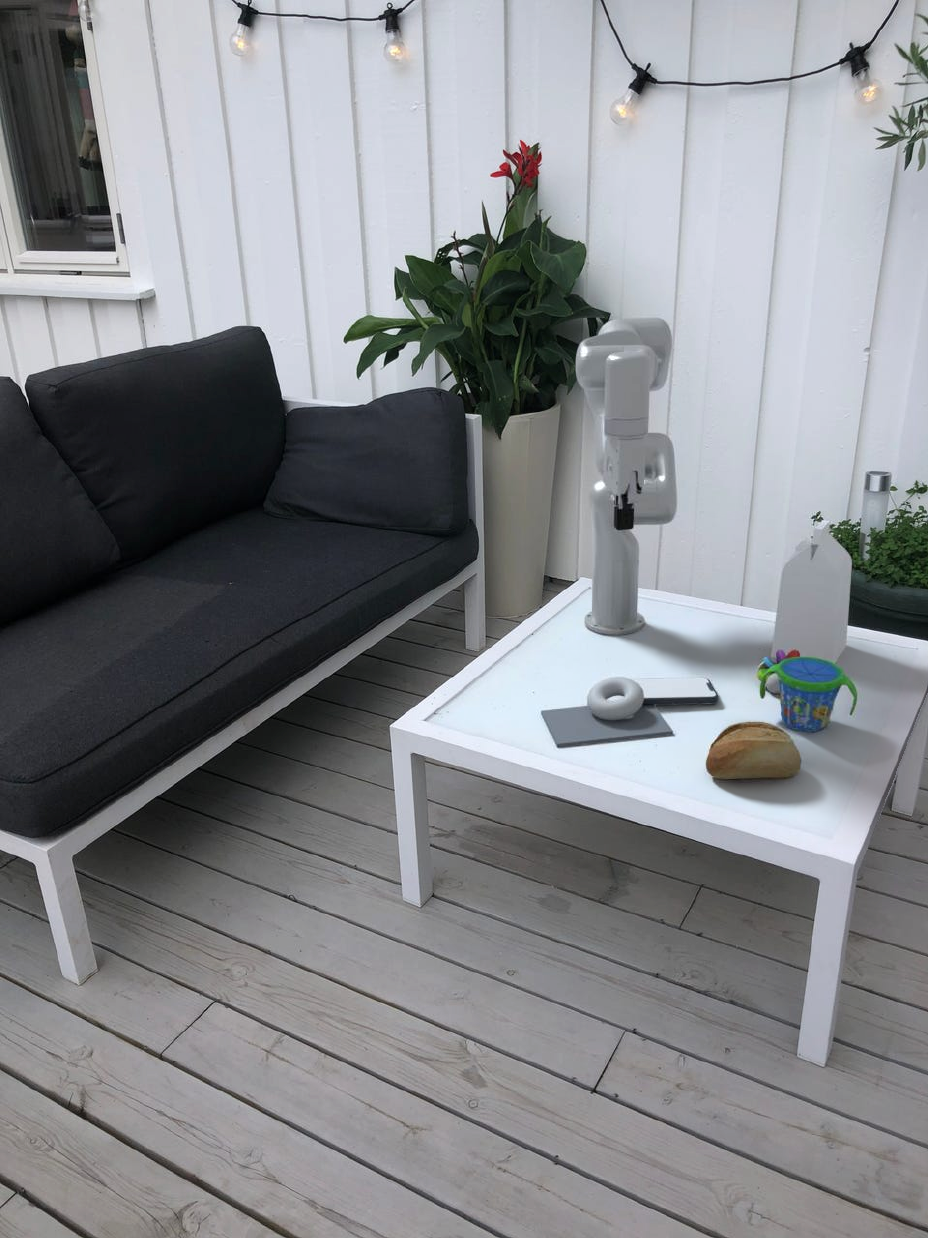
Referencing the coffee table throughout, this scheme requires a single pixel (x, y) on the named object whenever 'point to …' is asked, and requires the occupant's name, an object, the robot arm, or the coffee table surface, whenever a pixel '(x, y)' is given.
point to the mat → (602, 725)
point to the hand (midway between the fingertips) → (623, 528)
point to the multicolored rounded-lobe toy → (772, 677)
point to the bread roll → (753, 752)
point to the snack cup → (808, 691)
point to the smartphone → (677, 691)
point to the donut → (620, 707)
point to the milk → (814, 598)
